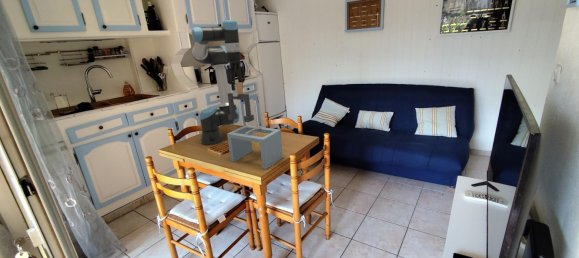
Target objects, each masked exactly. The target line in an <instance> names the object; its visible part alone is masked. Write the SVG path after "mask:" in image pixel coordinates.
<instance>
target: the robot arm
mask: <svg viewBox="0 0 579 258" xmlns="http://www.w3.org/2000/svg"><path fill="white" fill-rule="evenodd" d="M191 36H192V37H191V38H192V41H193V42H194V44H193V45H194V46H193V47H192V49H191V55H192V58H193V59H194V60H195V61H196V62H198V63H199V64H203V65H211V67H212V68H213V69H214V72H215V78H216V83H217V90H218V96H219V101H220V103H219V106H218V108H217V107H207V108H204V109H202V110H201V111H199V115H198V116H199V121H200V126H201V127H200V128H201V139H200V144H201V145H203V146H215V145H218V144H221V143H222V142H223V141H224V136H223V135H222V132H221V131H220V126H226V125H228V126H229V125H234V124H237V123H238V122H239V121H240V108H239V106H237V105H236V103H235V102H234V109H235V113H238V118H237V119H234V120H228V115H229V114H230V110H229V102H228V93H233V96H238V95H237V86H236V84H235V83H236V77H237V82H242V87H243V88H244V85H243V84H244V83H245V81H246V76H245V63H244V62H241V58H242V54H241V52H240V51H241V46H240V37H239V36H240V35H239V26H238V22H237V20H235V19H228V20H227V19H225V20H223V21H222V25H221V26H219V25H217V26H197V27H192V28H191ZM210 42H224V45H211V46H209V43H210ZM242 94H244V92H243V93H242Z"/></svg>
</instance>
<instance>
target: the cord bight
mask: <svg viewBox="0 0 579 258" xmlns="http://www.w3.org/2000/svg"><path fill="white" fill-rule="evenodd" d="M235 84H236V86H237V95H238V96H233V92H231V93H228V102H229V110H230V114H229V115H228V120H234V119H237V118H238V113H235V109H234V103H235V102H234V100H237V101H238V100H240V101H241V100H242V101H244V109H245V115H244V116H243V122H244V123H250V122H253V121H255V116H254V114H252V111H251V101H250V94H249V93H244V89H243V88H244V86H243V87H242V82H238V81H237V82H236V81H235ZM242 93H243V94H242Z"/></svg>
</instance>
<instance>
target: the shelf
mask: <svg viewBox="0 0 579 258" xmlns="http://www.w3.org/2000/svg"><path fill="white" fill-rule="evenodd" d="M256 127H257V126H255V125H248V124H245V125H243V126H241V127H239V128H237V129H234V130H232V131H230V132H227V133H226V135H227V143H228V151H229V158H230V159H229V160H230V162H233V163H235V162H237V161H238V160H240V159H241V158H244V157H245V156H247V155H248V154H250V153H252V152H253V147H252V142H253V143H259V147H260V157H261V167H262V168H261V169H262V170H267V169H269V168H270V167H271V166H273V165H274V164H276V163H278V162H279V161H280V160H282V158H284V157H283V141H282V130H281V129H278V128H271V127H270V128H269V127H263V126H262V129H261V131H260V132H259V133H263V134H267V135H264V136H257V135H249V136H247V135H245V132H247V131H249V130H252V129H254V128H256Z"/></svg>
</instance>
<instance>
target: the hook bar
mask: <svg viewBox="0 0 579 258" xmlns="http://www.w3.org/2000/svg"><path fill="white" fill-rule="evenodd" d="M262 127H263V126H262V125H258V126H256V128H254V129H252V130H249V131H247V132H245V135H247V136H249V135H252V136H255V135H256V134H258V133H261V132H260V131H261V129H262Z"/></svg>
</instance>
